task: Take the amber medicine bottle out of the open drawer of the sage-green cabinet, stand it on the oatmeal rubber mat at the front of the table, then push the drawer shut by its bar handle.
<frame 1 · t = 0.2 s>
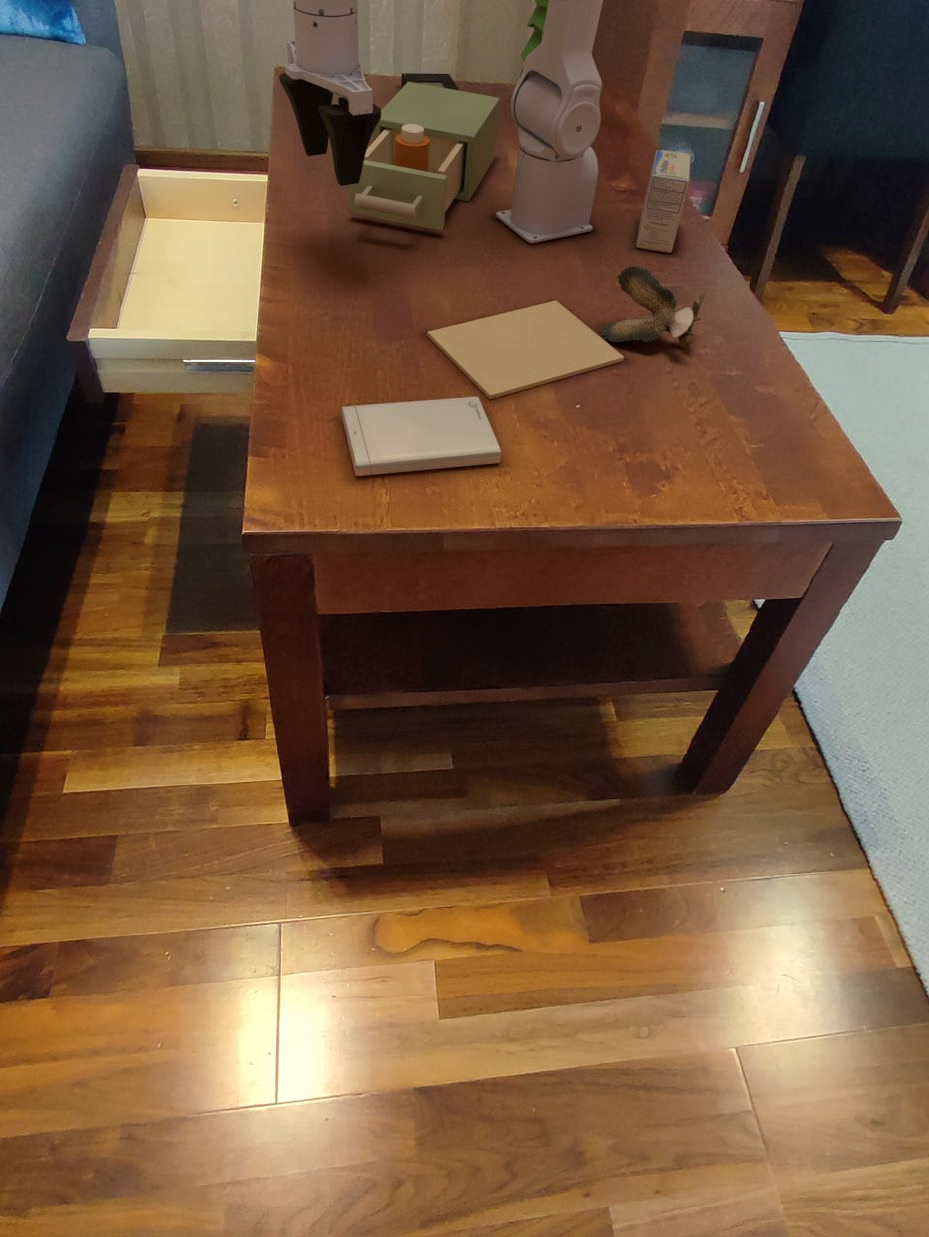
hand: (331, 168, 85), 10 cm above the table, tool pointing down, fingers open, 7 cm apart
medicine box: (653, 239, 103), on the table
hard drive: (419, 443, 73), on the table
cabinet: (436, 171, 111), on the table
drawer: (406, 181, 99), point 4 cm above the table, slide at 10.0 cm, touching bottle
mat: (525, 348, 84), on the table
decorative tree: (545, 122, 126), on the table
vhs tape: (434, 106, 127), on the table
eagle figurine: (645, 339, 87), on the table
bottle: (410, 190, 101), point 2 cm above the table, touching drawer
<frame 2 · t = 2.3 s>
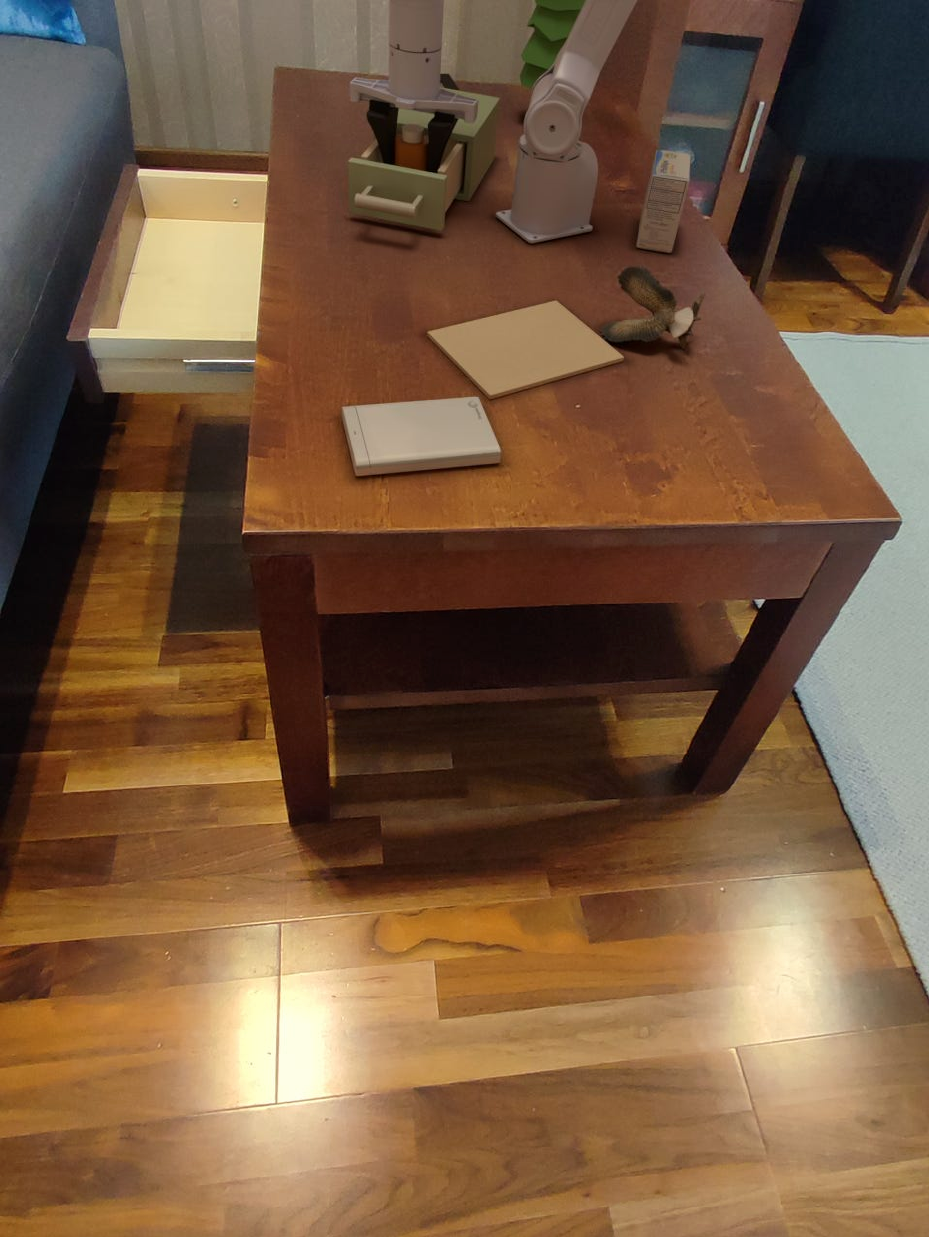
hand: (411, 176, 100), 4 cm above the table, tool pointing down, fingers open, 5 cm apart
nothing on the table moved.
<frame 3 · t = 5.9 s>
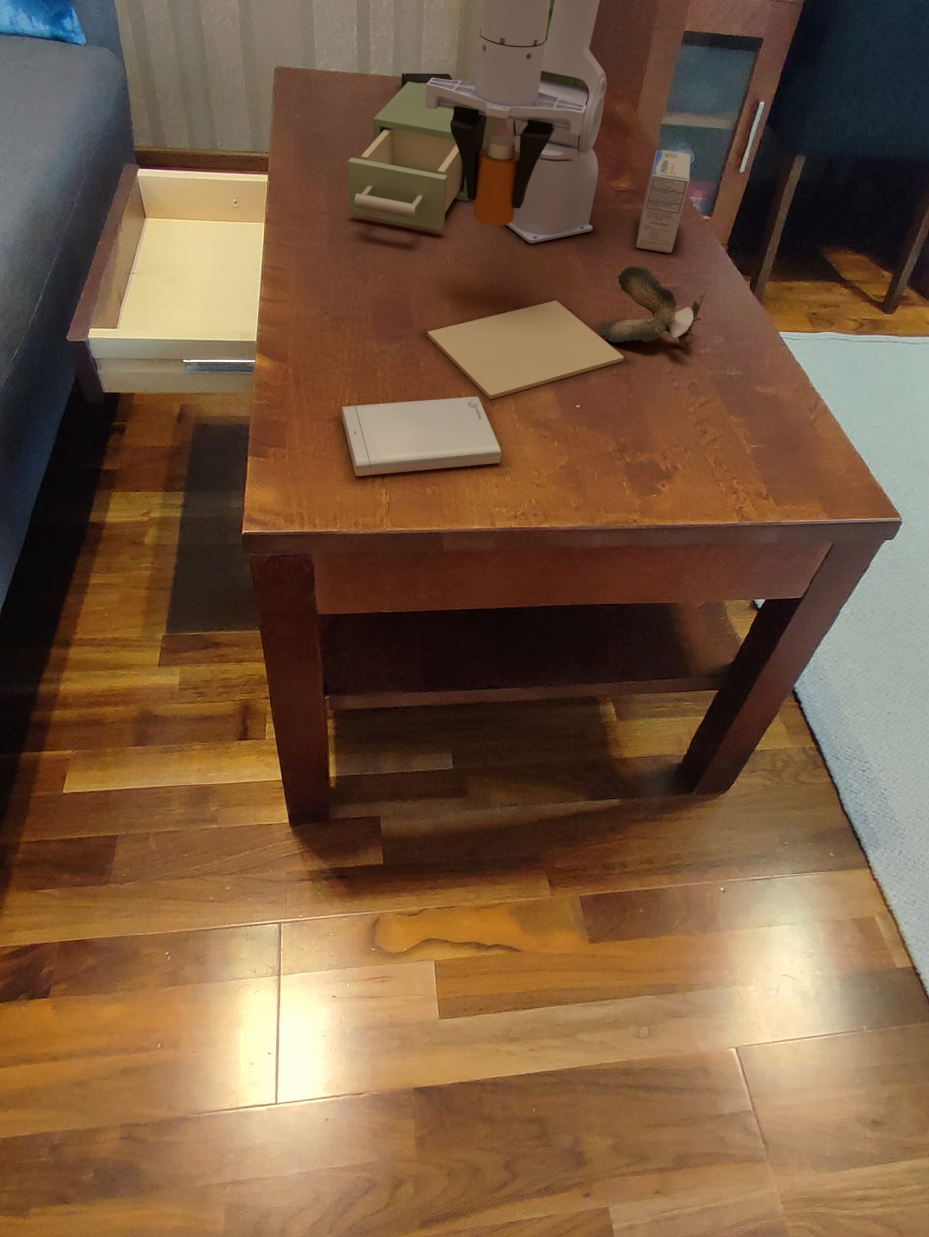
hand: (495, 199, 82), 10 cm above the table, tool pointing down, fingers closed on bottle, 4 cm apart
drawer: (406, 181, 99), point 4 cm above the table, slide at 10.0 cm
bottle: (493, 216, 83), point 9 cm above the table, touching gripper
everything else where it was.
when the fingers open (2 cm above the table, at t = 9.2 s): bottle stays where it is, resting on mat.
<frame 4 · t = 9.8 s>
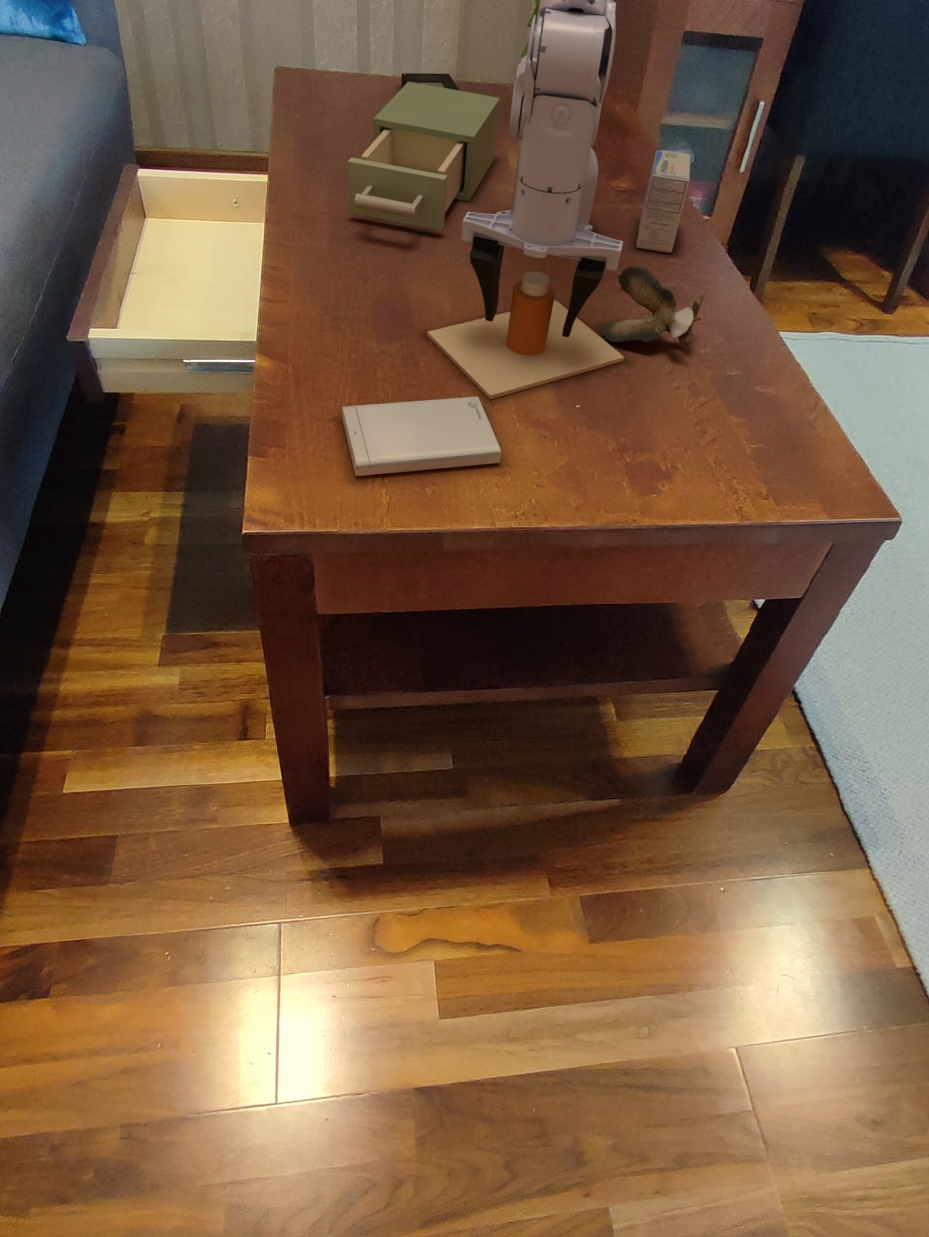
hand: (528, 324, 82), 3 cm above the table, tool pointing down, fingers open, 7 cm apart
bottle: (526, 344, 84), resting on mat
everything else where it was.
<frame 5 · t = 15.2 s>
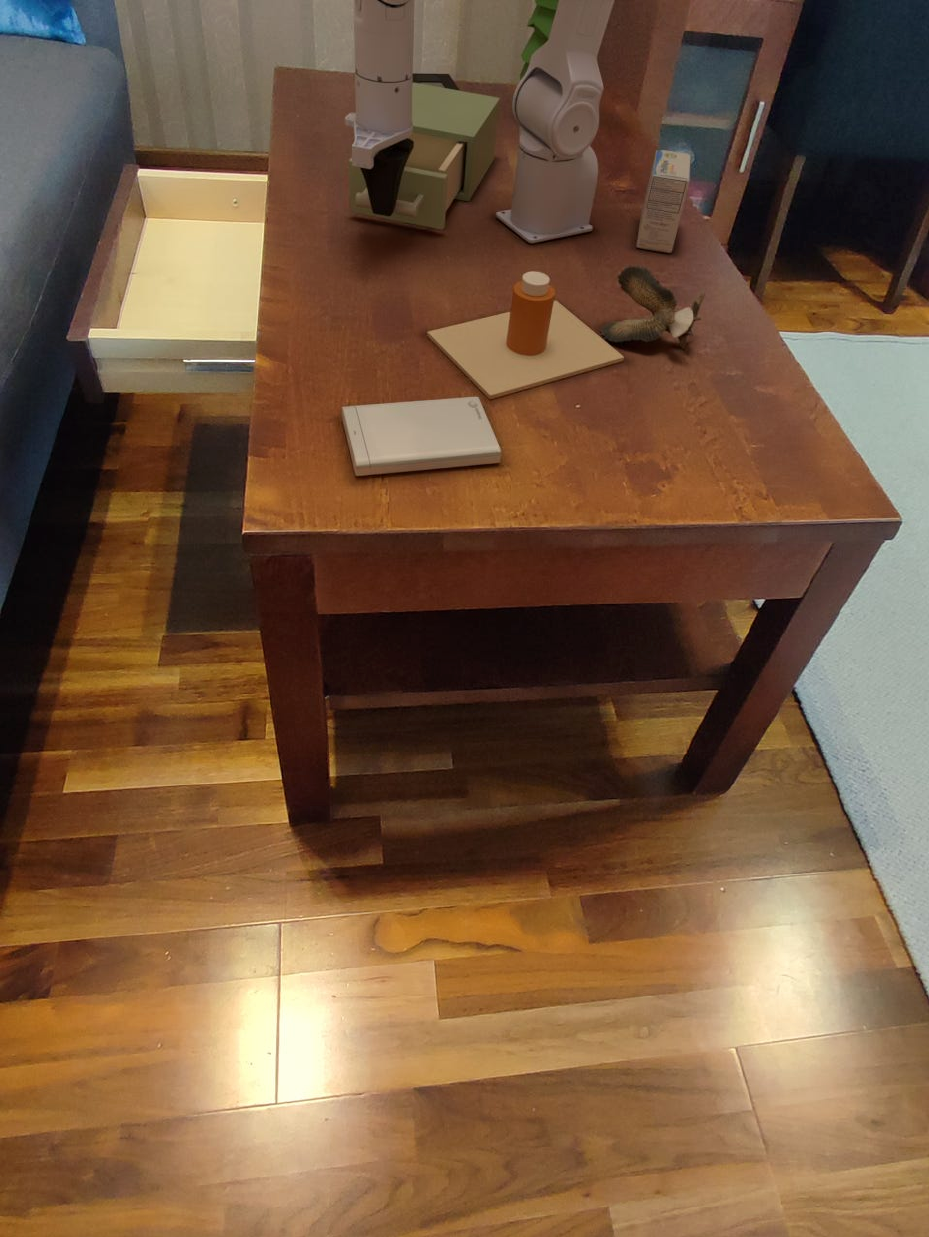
hand: (383, 212, 93), 4 cm above the table, tool pointing down, fingers closed
drawer: (407, 180, 99), point 4 cm above the table, slide at 9.7 cm, touching gripper
everything else where it was.
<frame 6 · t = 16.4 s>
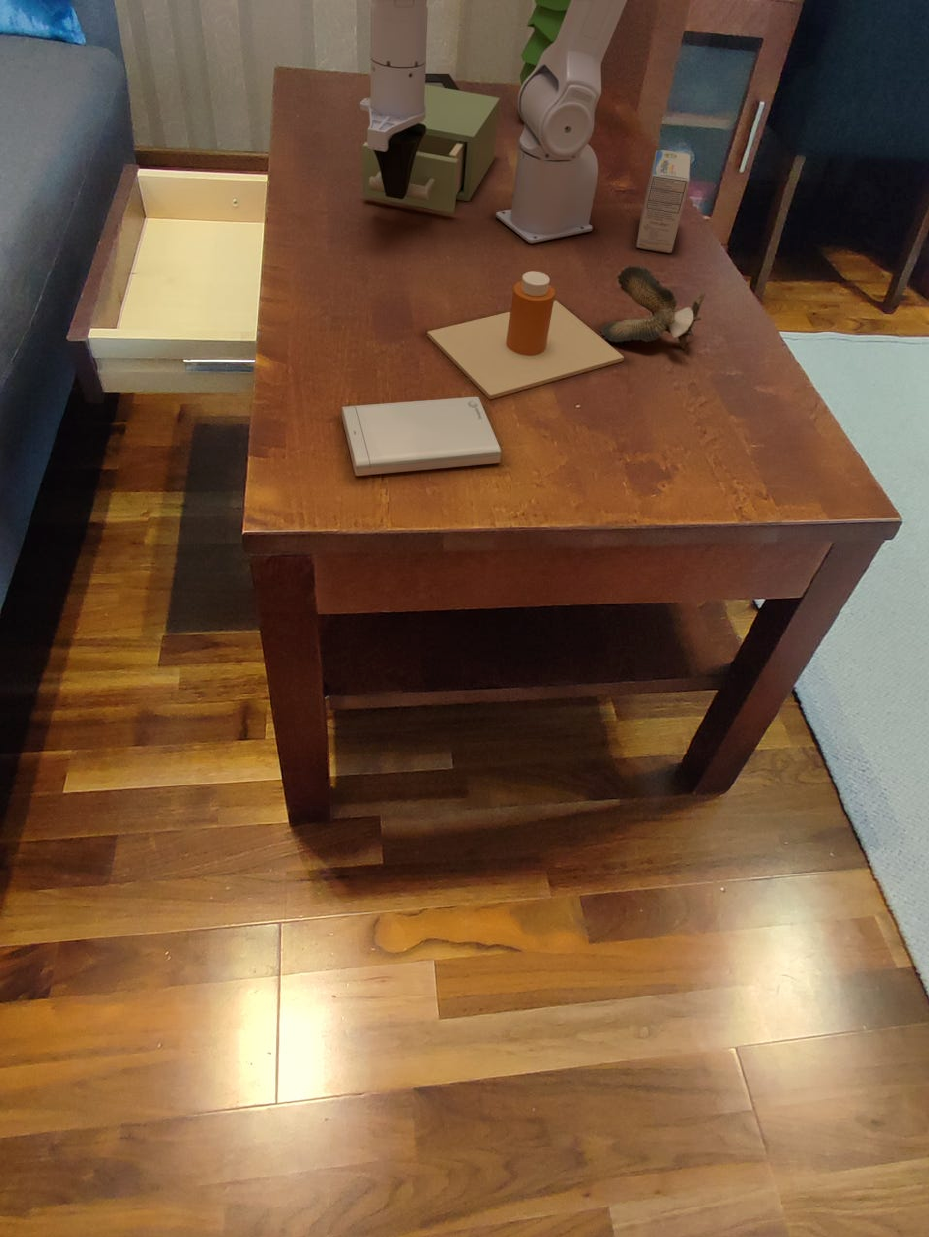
hand: (395, 195, 96), 4 cm above the table, tool pointing down, fingers closed
drawer: (418, 165, 102), point 4 cm above the table, slide at 4.9 cm, touching gripper
everything else where it was.
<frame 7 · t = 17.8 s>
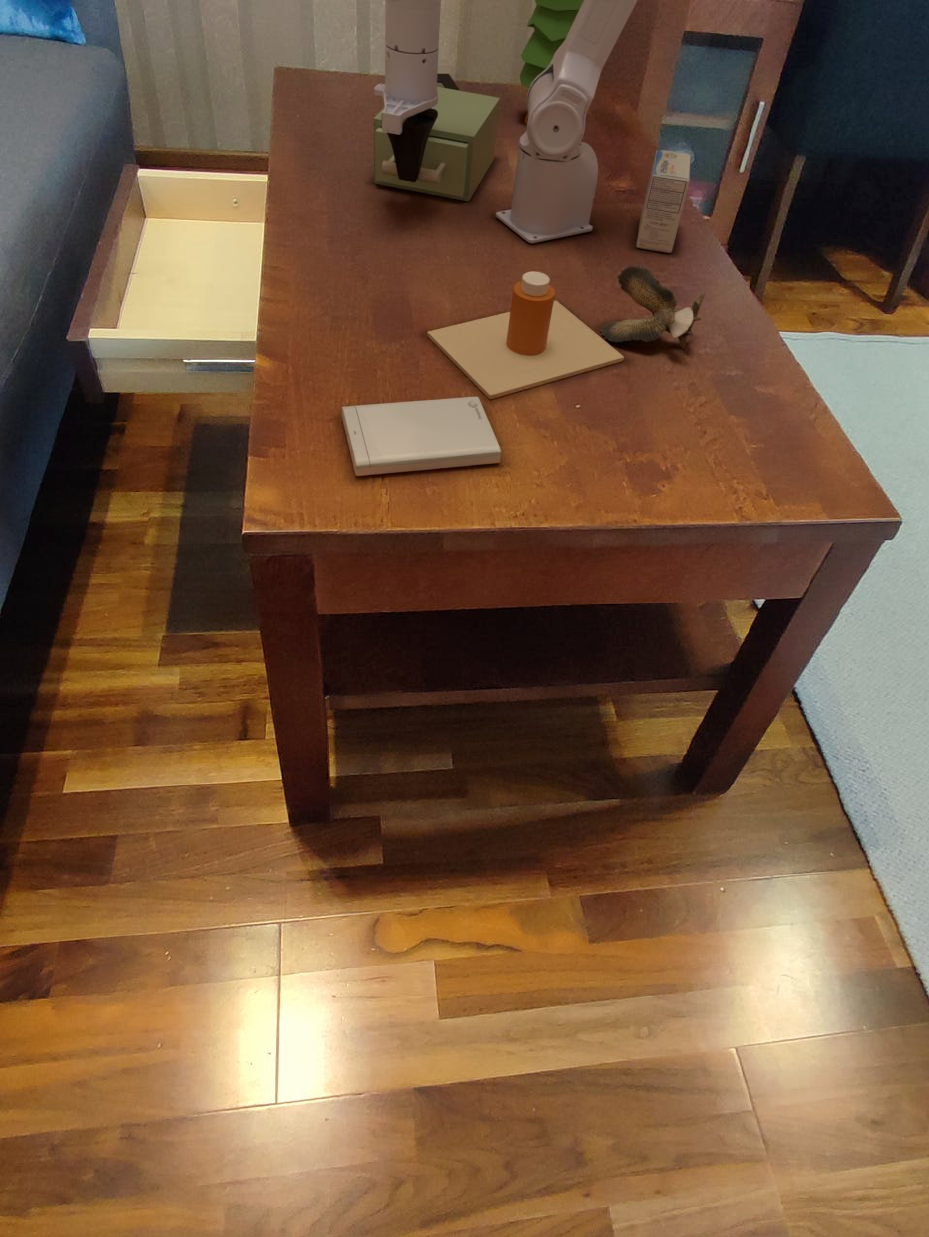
hand: (408, 179, 99), 4 cm above the table, tool pointing down, fingers closed
drawer: (429, 150, 105), point 4 cm above the table, slide at 0.0 cm, touching cabinet, gripper
everything else where it was.
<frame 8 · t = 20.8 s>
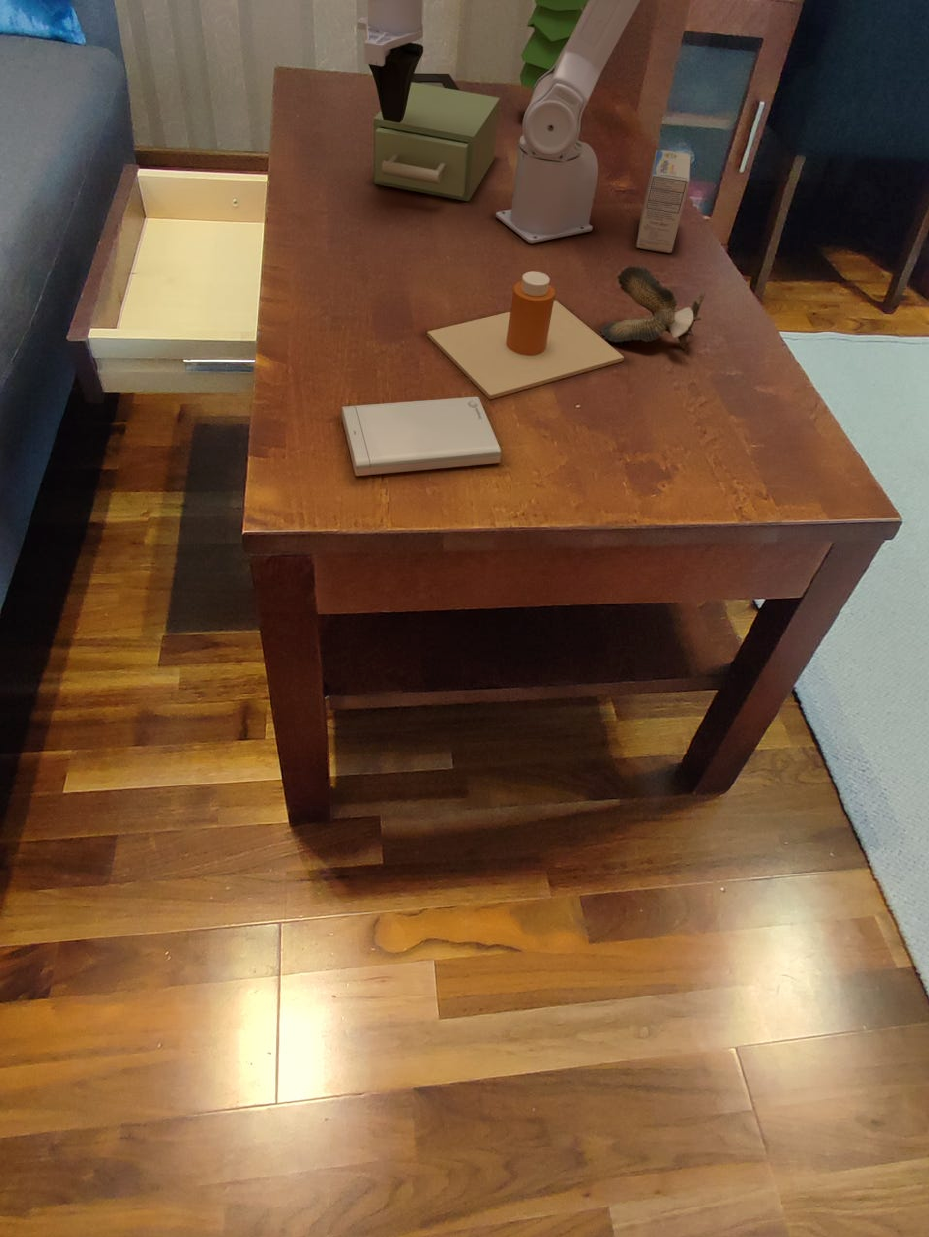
hand: (393, 119, 96), 9 cm above the table, tool pointing down, fingers closed
drawer: (429, 150, 105), point 4 cm above the table, slide at 0.0 cm
everything else where it was.
at the end: bottle inside the target area on the mat (0.1 cm from its centre), point 0.5 cm above the mat's base; bottle tilted 0°; drawer slide at 0.0 cm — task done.
